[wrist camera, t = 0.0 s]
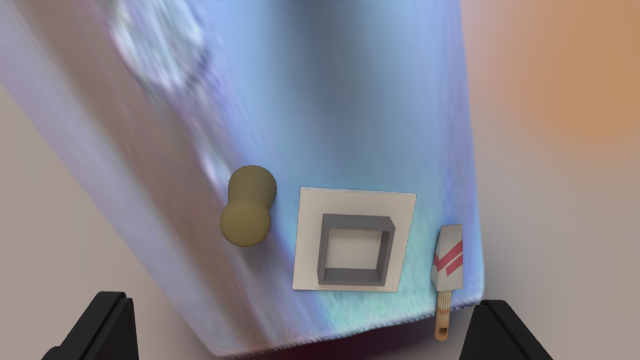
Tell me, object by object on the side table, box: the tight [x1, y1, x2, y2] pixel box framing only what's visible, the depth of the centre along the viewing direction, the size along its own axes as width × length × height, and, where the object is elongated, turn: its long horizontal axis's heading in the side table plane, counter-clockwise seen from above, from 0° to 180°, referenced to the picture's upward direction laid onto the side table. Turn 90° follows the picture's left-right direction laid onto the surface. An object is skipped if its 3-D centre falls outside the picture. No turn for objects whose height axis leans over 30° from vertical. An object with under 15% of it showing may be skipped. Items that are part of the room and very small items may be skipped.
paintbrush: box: [430, 224, 463, 341], centre depth 55 cm, size 4×3×20 cm
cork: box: [220, 165, 277, 247], centre depth 43 cm, size 6×6×11 cm
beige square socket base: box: [293, 187, 417, 292], centre depth 50 cm, size 15×15×4 cm
